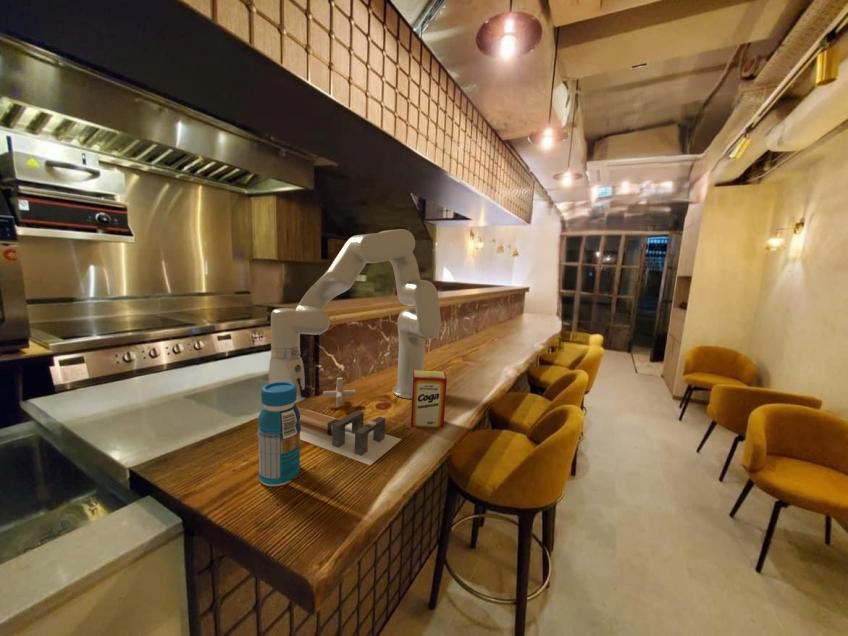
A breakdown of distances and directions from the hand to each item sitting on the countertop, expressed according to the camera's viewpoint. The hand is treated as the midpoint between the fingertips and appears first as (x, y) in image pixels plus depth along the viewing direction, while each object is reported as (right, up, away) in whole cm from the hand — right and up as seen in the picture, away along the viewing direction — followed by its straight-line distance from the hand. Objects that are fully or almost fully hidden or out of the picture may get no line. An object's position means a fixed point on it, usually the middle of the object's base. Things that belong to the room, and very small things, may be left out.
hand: (285, 413), depth 97 cm
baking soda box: (+41, -4, +2) cm, 41 cm away
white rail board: (+16, -4, -8) cm, 18 cm away
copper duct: (+10, -2, -5) cm, 11 cm away
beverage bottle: (+9, -6, -25) cm, 28 cm away
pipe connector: (+13, -2, +10) cm, 17 cm away
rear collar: (+20, -4, -10) cm, 23 cm away
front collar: (+27, -4, -13) cm, 30 cm away
